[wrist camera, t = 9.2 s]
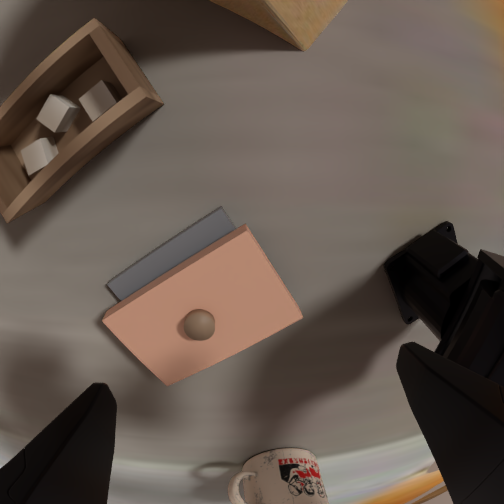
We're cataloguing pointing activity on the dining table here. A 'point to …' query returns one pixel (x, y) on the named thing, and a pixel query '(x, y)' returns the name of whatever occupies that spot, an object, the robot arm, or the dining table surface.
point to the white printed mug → (279, 479)
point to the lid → (204, 309)
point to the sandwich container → (288, 17)
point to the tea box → (68, 115)
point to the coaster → (172, 253)
